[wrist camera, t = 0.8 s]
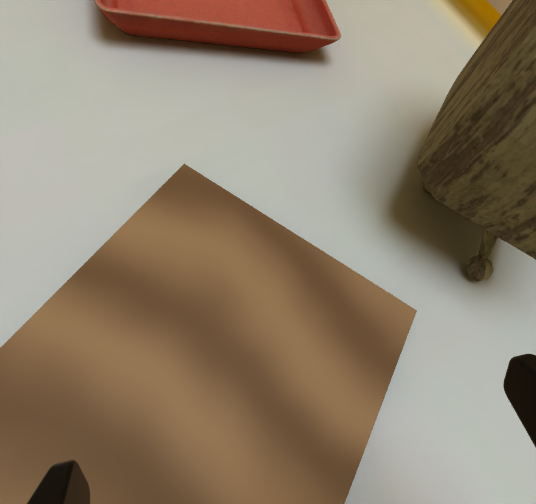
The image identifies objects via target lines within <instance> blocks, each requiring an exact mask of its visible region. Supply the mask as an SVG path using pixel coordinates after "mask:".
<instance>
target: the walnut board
mask: <svg viewBox="0 0 536 504" xmlns="http://www.w3.org/2000/svg"><path fill="white" fill-rule="evenodd" d="M416 311H417V310H415V309H413V308H412V307H410V306H409V305H407V304H406V303H404V302H402V301H401V300H399V299H398V298H396V297H394V296H393V295H391V294H390V293H388V292H387V291H385V290H383V289H382V288H380V287H379V286H377V285H375V284H374V283H372V282H371V281H369V280H368V279H366V278H364V277H363V276H361V275H360V274H358V273H356V272H355V271H353V270H352V269H350V268H349V267H347V266H345V265H344V264H342V263H341V262H339V261H337V260H336V259H334V258H333V257H331V256H329V255H328V254H326V253H325V252H323V251H322V250H320V249H318V248H317V247H315V246H314V245H312V244H310V243H309V242H307V241H306V240H304V239H303V238H301V237H299V236H298V235H296V234H295V233H293V232H291V231H290V230H288V229H287V228H285V227H284V226H282V225H280V224H279V223H277V222H276V221H274V220H272V219H271V218H269V217H268V216H266V215H265V214H263V213H261V212H260V211H258V210H257V209H255V208H253V207H252V206H250V205H249V204H247V203H246V202H244V201H242V200H241V199H239V198H238V197H236V196H234V195H233V194H231V193H230V192H228V191H227V190H225V189H223V188H222V187H220V186H219V185H217V184H215V183H214V182H212V181H211V180H209V179H208V178H206V177H204V176H203V175H201V174H200V173H198V172H196V171H195V170H193V169H192V168H190V167H188V166H187V165H185V164H184V165H183V166H182V167H181V168H180V169H179V170H178V171H177V172H176V173H175V174H174V175H173V176H172V177H171V178H170V179H169V180H168V181H167V182H166V183H165V184H164V185H163V186H162V187H161V188H160V189H159V190H158V191H157V192H156V193H155V194H154V195H153V196H152V197H151V198H150V199H149V200H148V201H147V202H146V203H145V204H144V205H143V206H142V207H141V208H140V209H139V210H138V211H137V212H136V213H135V214H134V215H133V216H132V217H131V218H130V219H129V220H128V221H127V222H126V223H125V224H124V225H123V226H122V227H121V228H120V229H119V230H118V231H117V232H116V233H115V234H114V235H113V236H112V237H111V238H110V239H109V240H108V241H107V242H106V243H105V244H104V245H103V246H102V247H101V248H100V249H99V250H98V251H97V252H96V253H95V254H94V255H93V256H92V257H91V258H90V259H89V260H88V261H87V262H86V263H85V264H84V265H83V266H82V267H81V268H80V269H79V270H78V271H77V272H76V273H75V274H74V275H73V276H72V277H71V278H70V279H69V280H68V281H67V282H66V283H65V284H64V285H63V286H62V287H61V288H60V289H59V290H58V291H57V292H56V293H55V294H54V295H53V296H52V297H51V298H50V299H49V300H48V301H47V302H46V303H45V304H44V305H43V306H42V307H41V308H40V309H39V310H38V311H37V312H36V313H35V314H34V315H33V316H32V317H31V318H30V319H29V320H28V321H27V322H26V323H25V324H24V325H23V326H22V327H21V328H20V329H19V330H18V331H17V332H16V333H15V334H14V335H13V336H12V337H11V338H10V339H9V340H8V341H7V342H6V343H5V344H4V345H3V346H2V347H1V348H0V504H27V502H28V501H29V499H30V497H31V496H32V494H33V493H34V491H35V490H36V488H37V487H38V485H39V483H40V482H41V480H42V479H43V477H44V476H45V474H46V473H47V471H48V470H49V468H50V467H51V466H52V465H54V464H56V463H59V462H64V461H68V460H75V461H77V463H78V464H79V466H80V468H81V470H82V472H83V474H84V476H85V478H86V480H87V482H88V484H89V488H90V504H344V503H345V501H346V498H347V495H348V493H349V490H350V487H351V485H352V482H353V479H354V477H355V474H356V471H357V469H358V466H359V463H360V461H361V458H362V455H363V453H364V450H365V447H366V445H367V442H368V439H369V437H370V434H371V431H372V429H373V426H374V423H375V421H376V418H377V415H378V413H379V410H380V407H381V405H382V402H383V399H384V397H385V394H386V391H387V389H388V386H389V383H390V381H391V378H392V375H393V373H394V370H395V367H396V365H397V362H398V359H399V357H400V354H401V351H402V349H403V346H404V343H405V341H406V338H407V335H408V333H409V330H410V327H411V325H412V322H413V319H414V317H415V314H416Z"/></svg>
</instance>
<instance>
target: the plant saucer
mask: <svg viewBox="0 0 536 504" xmlns="http://www.w3.org/2000/svg"><path fill="white" fill-rule="evenodd" d="M95 3H96V5H97V6H98V8H99V9H100V11H101V12H102V13H103V14H104V15H105V16H106V17H107V18H108V19H109V20H110V21H111V22H112V23H113V24H114V25H116V26H117V27H118V28H119V29H121V30H122V31H123V32H125V33H127V34H130V35H137V36H145V37H155V38H165V39H174V40H185V41H193V42H202V43H211V44H220V45H230V46H239V47H249V48H258V49H266V50H276V51H285V52H295V53H302V52H307V51H311V50H314V49H317V48H320V47H323V46H326V45H329V44H331V43H333V42H335V41H337V40H339V39H340V37H341V34H340V31H339V29H338V27H337V25H336V23H335V20H334V18H333V15H332V13H331V11H330V9H329V7H328V5H327V2H326V0H95Z"/></svg>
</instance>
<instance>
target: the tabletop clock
mask: <svg viewBox="0 0 536 504" xmlns="http://www.w3.org/2000/svg"><path fill="white" fill-rule="evenodd" d="M417 167H418V169H419V171H420V173H421V175H422V177H423V187H424V189H425V190H426V191H427V192H429V193H431V194H432V196H433V198H434V199H435V200H437V201H439V202H440V203H442V204H444V205H445V206H447V207H449V208H450V209H452V210H454V211H455V212H457V213H459V214H460V215H462V216H464V217H466V218H467V219H469V220H471V221H472V222H474V223H476V224H477V225H479V226H481V227H482V228H484V232H483V237H482V242H481V247H480V251H479V256H475V257H472V258H471V259H470V260H469V261H468V262H467V264H466V272H467V275H468V276H469V277H470V278H471V279H473V280H477V281H482V280H486V279H488V277H489V276H490V275H491V274H492V272H493V266H492V263H491V261H490V260H489V259H487V258H488V256H489V254H490V252H491V249H492V247H493V245H494V243H495V241H496V239H497V237H499V238H501V239H502V240H504V241H506V242H507V243H509V244H511V245H513V246H514V247H516V248H518V249H519V250H521V251H523V252H524V253H526V254H528V255H529V256H531V257H533V258H534V259H536V0H513V1H512V3H511V4H510V5H509V7H508V8H507V9H506V11H505V12H504V13H503V15H502V16H501V17H500V19H499V20H498V21H497V23H496V24H495V26H494V27H493V28H492V30H491V31H490V32H489V34H488V35H487V36H486V38H485V39H484V41H483V42H482V43H481V45H480V46H479V47H478V49H477V50H476V52H475V53H474V54H473V56H472V57H471V58H470V60H469V61H468V63H467V64H466V66H465V67H464V68H463V70H462V71H461V73H460V74H459V76H458V77H457V79H456V80H455V82H454V84H453V86H452V87H451V89H450V91H449V93H448V95H447V97H446V99H445V101H444V103H443V105H442V107H441V109H440V111H439V113H438V115H437V117H436V120H435V122H434V124H433V126H432V128H431V130H430V133H429V135H428V137H427V140H426V142H425V144H424V147H423V149H422V151H421V154H420V156H419V159H418V162H417Z"/></svg>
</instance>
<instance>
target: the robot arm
mask: <svg viewBox="0 0 536 504" xmlns="http://www.w3.org/2000/svg"><path fill="white" fill-rule="evenodd" d="M504 391H505V393H506V395H507V397H508V399H509V401H510V403H511V404H512V406H513V408H514V410H515V411H516V413H517V415H518V417H519V419H520V420H521V422H522V424H523V426H524V427H525V429H526V431H527V433H528V435H529V436H530V438H531V440H532V442H533V443H534V445H535V447H536V356H535V355H533V354H524V355H520V356H516V357H513V358H512V359H511V360H510V362H509V365H508V369H507V372H506V376H505V379H504ZM27 504H90V488H89V484H88V482H87V480H86V478H85V476H84V474H83V472H82V470H81V468H80V466H79V464H78V463H77V461H75V460H68V461H64V462H59V463H56V464H54V465H52V466H51V467H50V468H49V470H48V471H47V473H46V474H45V476H44V477H43V479H42V480H41V482H40V483H39V485H38V487H37V488H36V490H35V491H34V493H33V494H32V496H31V497H30V499H29V501H28V502H27Z"/></svg>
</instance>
